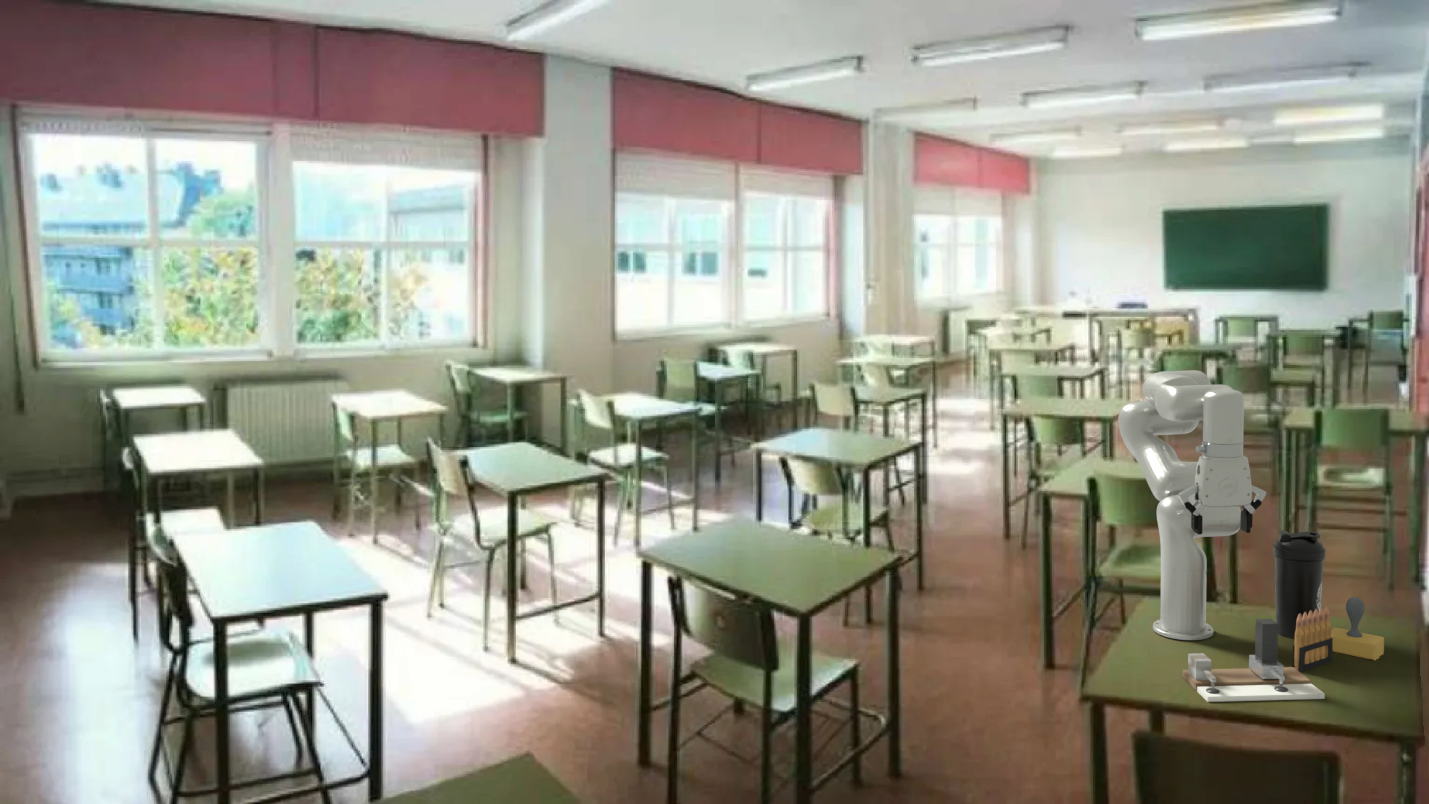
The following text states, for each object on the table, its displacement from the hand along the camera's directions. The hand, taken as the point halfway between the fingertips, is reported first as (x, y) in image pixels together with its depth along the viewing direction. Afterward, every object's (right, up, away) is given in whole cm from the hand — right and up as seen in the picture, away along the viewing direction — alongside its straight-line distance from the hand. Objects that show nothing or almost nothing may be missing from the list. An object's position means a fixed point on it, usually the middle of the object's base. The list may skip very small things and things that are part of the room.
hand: (1221, 532), depth 225 cm
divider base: (+2, -30, -8) cm, 31 cm away
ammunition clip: (+19, -28, +1) cm, 34 cm away
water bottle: (+26, -25, +19) cm, 41 cm away
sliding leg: (+6, -28, -9) cm, 30 cm away
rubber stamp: (+31, -27, +7) cm, 42 cm away
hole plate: (+2, -30, -13) cm, 33 cm away
